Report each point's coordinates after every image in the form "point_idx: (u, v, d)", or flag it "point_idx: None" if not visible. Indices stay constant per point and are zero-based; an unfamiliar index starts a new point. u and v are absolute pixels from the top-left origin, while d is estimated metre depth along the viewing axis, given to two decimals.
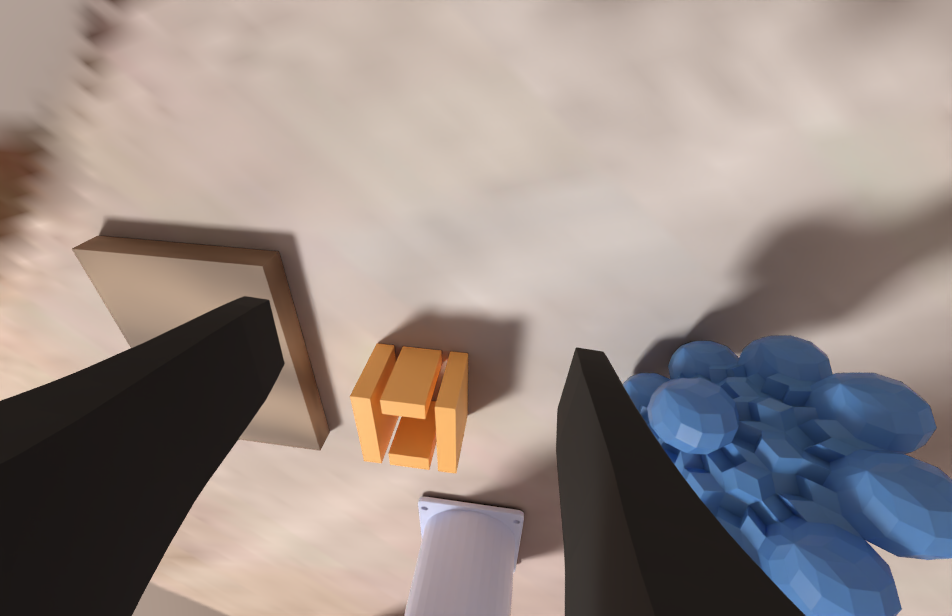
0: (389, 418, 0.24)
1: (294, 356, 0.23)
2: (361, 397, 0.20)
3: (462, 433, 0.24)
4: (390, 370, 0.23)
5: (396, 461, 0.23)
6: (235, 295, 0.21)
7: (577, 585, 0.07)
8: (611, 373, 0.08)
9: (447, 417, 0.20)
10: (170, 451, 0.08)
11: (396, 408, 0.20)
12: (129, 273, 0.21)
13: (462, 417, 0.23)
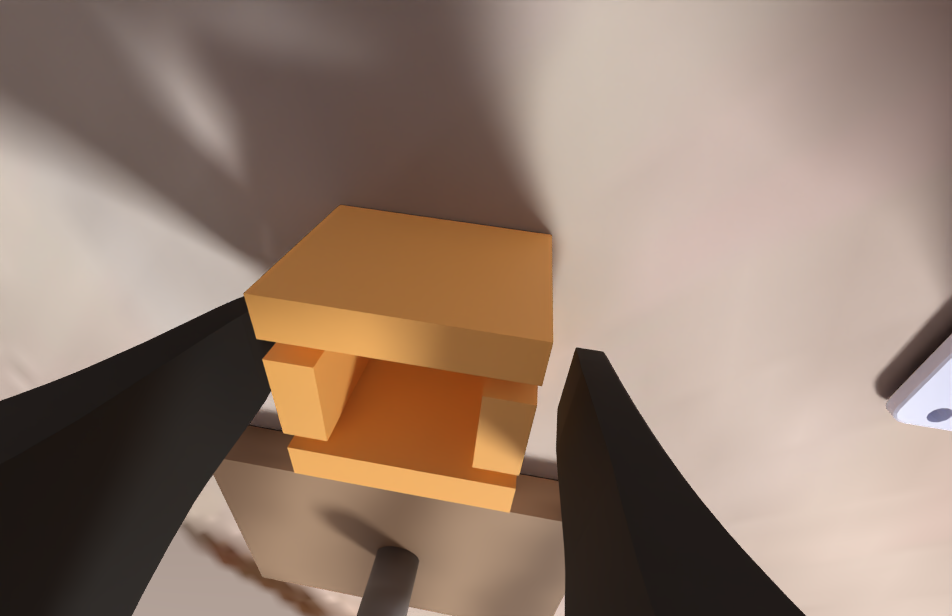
0: (463, 409, 0.11)
1: None
2: (291, 457, 0.10)
3: (516, 270, 0.08)
4: (373, 364, 0.12)
5: (505, 462, 0.09)
6: (265, 495, 0.16)
7: (577, 585, 0.07)
8: (611, 374, 0.08)
9: (285, 317, 0.07)
10: (170, 451, 0.08)
11: (298, 413, 0.09)
12: (275, 557, 0.19)
13: (448, 260, 0.09)
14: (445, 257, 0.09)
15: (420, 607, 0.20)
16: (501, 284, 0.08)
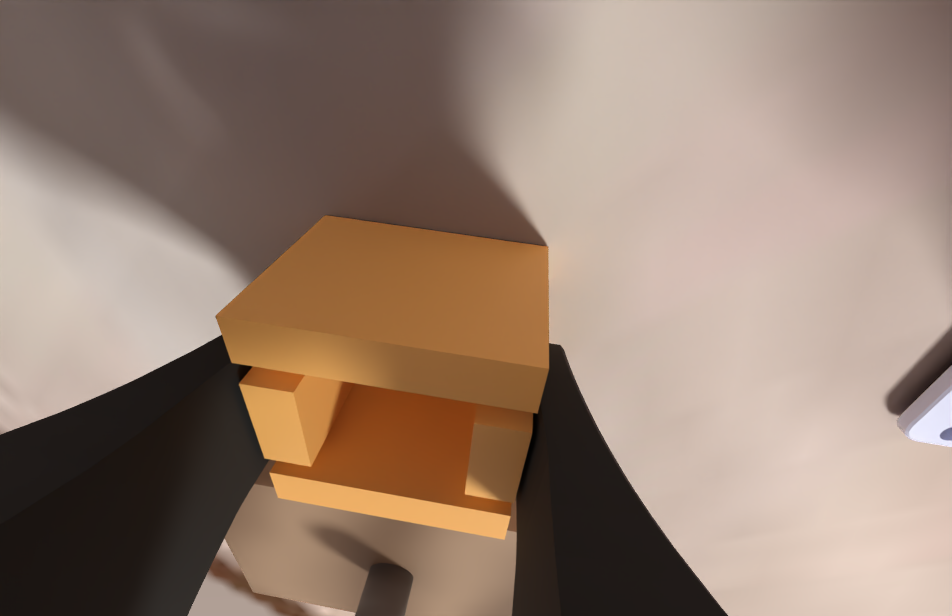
0: (456, 429, 0.10)
1: None
2: (274, 482, 0.09)
3: (510, 286, 0.08)
4: None
5: (499, 489, 0.08)
6: (254, 511, 0.16)
7: (521, 574, 0.07)
8: (563, 366, 0.08)
9: (260, 340, 0.07)
10: (219, 460, 0.07)
11: (279, 438, 0.08)
12: (265, 573, 0.19)
13: (438, 275, 0.08)
14: (435, 272, 0.08)
15: None
16: (494, 302, 0.07)
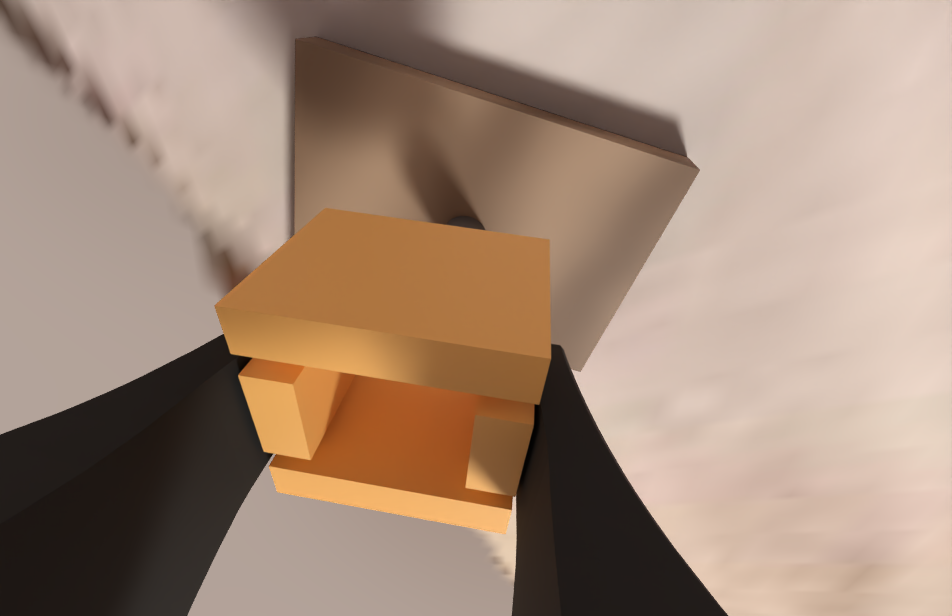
0: (457, 423, 0.10)
1: (472, 94, 0.14)
2: (274, 476, 0.09)
3: (511, 278, 0.08)
4: None
5: (500, 483, 0.08)
6: (346, 119, 0.15)
7: (521, 574, 0.07)
8: (563, 366, 0.08)
9: (259, 330, 0.07)
10: (219, 460, 0.07)
11: (278, 431, 0.08)
12: None
13: (439, 267, 0.08)
14: (435, 264, 0.08)
15: None
16: (495, 294, 0.07)
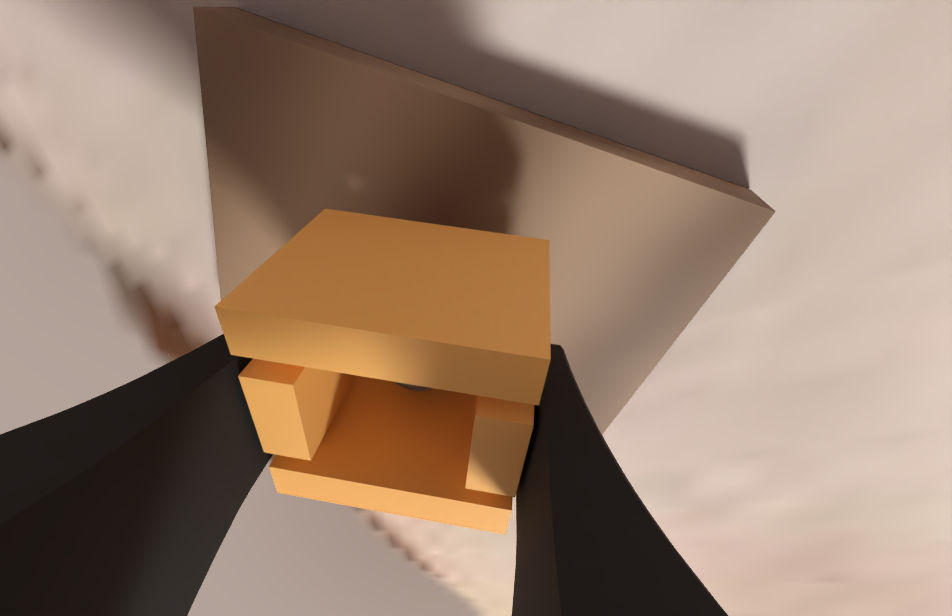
0: (457, 423, 0.10)
1: (454, 95, 0.10)
2: (274, 477, 0.09)
3: (511, 278, 0.08)
4: None
5: (500, 483, 0.08)
6: (276, 126, 0.10)
7: (521, 575, 0.07)
8: (563, 366, 0.08)
9: (260, 331, 0.07)
10: (219, 460, 0.07)
11: (278, 431, 0.08)
12: None
13: (438, 268, 0.08)
14: (435, 265, 0.08)
15: None
16: (495, 294, 0.07)
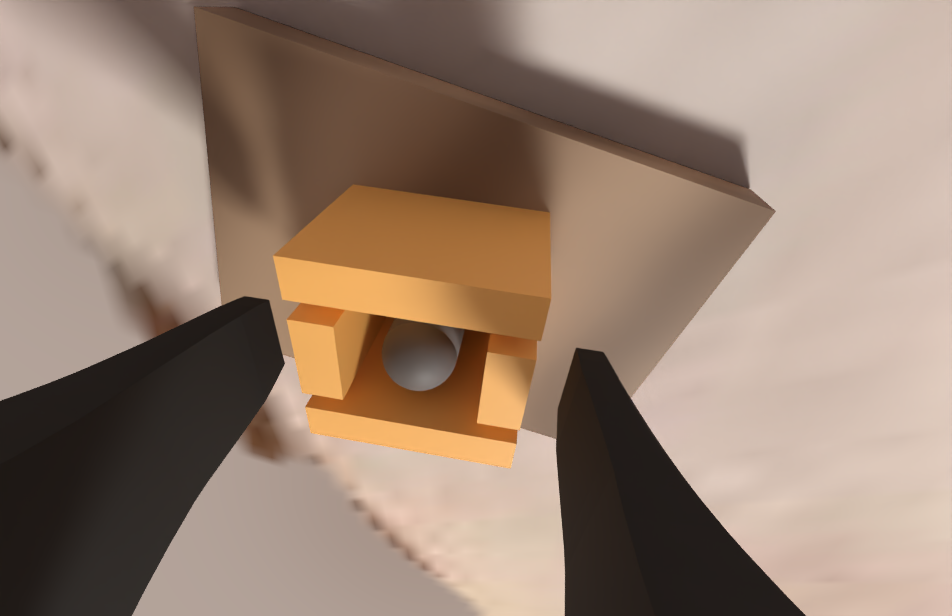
0: (467, 376, 0.12)
1: (454, 95, 0.10)
2: (308, 417, 0.11)
3: (517, 240, 0.09)
4: (382, 336, 0.13)
5: (507, 417, 0.09)
6: (277, 126, 0.10)
7: (577, 585, 0.07)
8: (611, 373, 0.08)
9: (309, 278, 0.08)
10: (170, 451, 0.08)
11: (317, 372, 0.09)
12: (254, 290, 0.14)
13: (455, 231, 0.09)
14: (452, 229, 0.09)
15: None
16: (504, 252, 0.09)
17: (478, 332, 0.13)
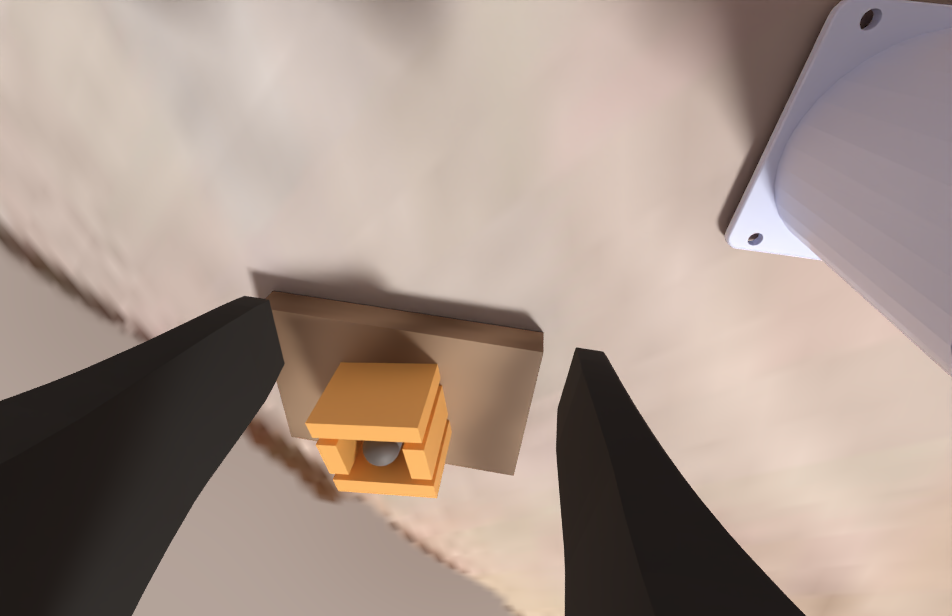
0: None
1: (377, 322, 0.20)
2: (335, 483, 0.21)
3: (413, 391, 0.20)
4: None
5: (423, 474, 0.20)
6: (300, 344, 0.22)
7: (577, 585, 0.07)
8: (611, 373, 0.08)
9: (321, 429, 0.19)
10: (170, 451, 0.08)
11: (334, 464, 0.20)
12: (303, 412, 0.25)
13: (385, 390, 0.20)
14: (384, 389, 0.20)
15: None
16: (405, 400, 0.19)
17: None
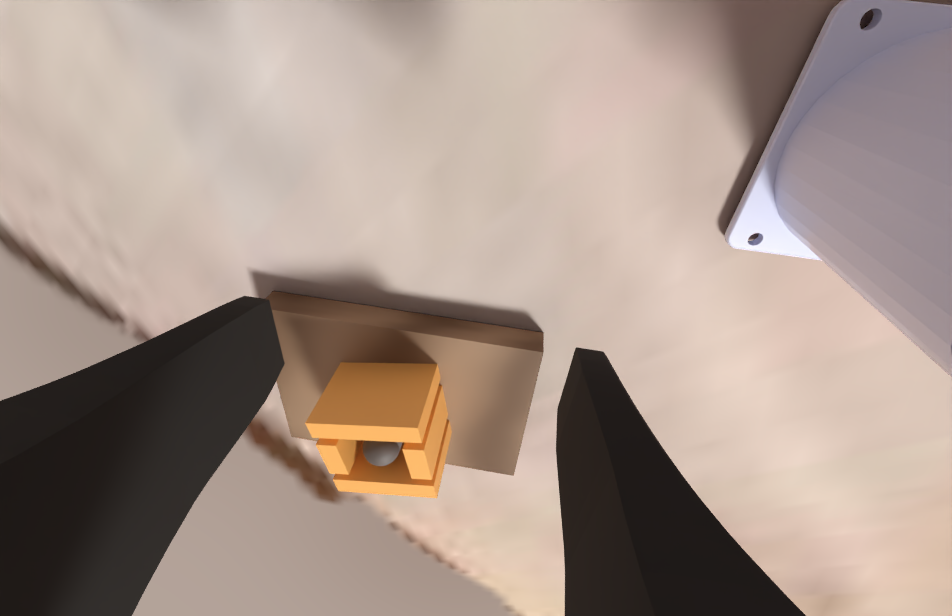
0: None
1: (377, 322, 0.20)
2: (335, 483, 0.21)
3: (413, 391, 0.20)
4: None
5: (423, 474, 0.20)
6: (300, 344, 0.22)
7: (577, 585, 0.07)
8: (611, 373, 0.08)
9: (321, 429, 0.19)
10: (170, 451, 0.08)
11: (334, 464, 0.20)
12: (303, 412, 0.25)
13: (385, 390, 0.20)
14: (384, 389, 0.20)
15: None
16: (405, 400, 0.19)
17: None
